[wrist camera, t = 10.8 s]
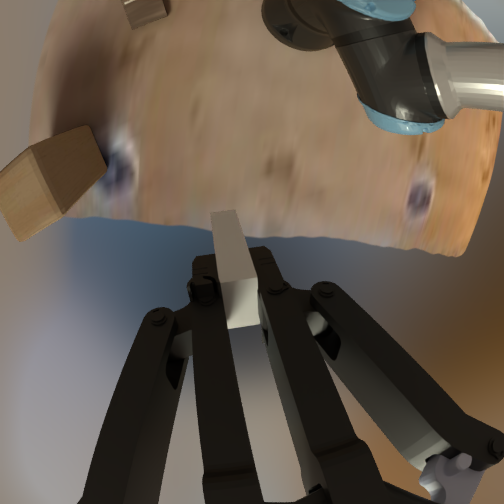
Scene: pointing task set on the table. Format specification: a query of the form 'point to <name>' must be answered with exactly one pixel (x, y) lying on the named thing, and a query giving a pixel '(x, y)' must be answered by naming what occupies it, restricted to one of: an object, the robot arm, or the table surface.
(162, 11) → the tile
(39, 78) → the table surface
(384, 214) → the table surface
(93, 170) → the wooden block
